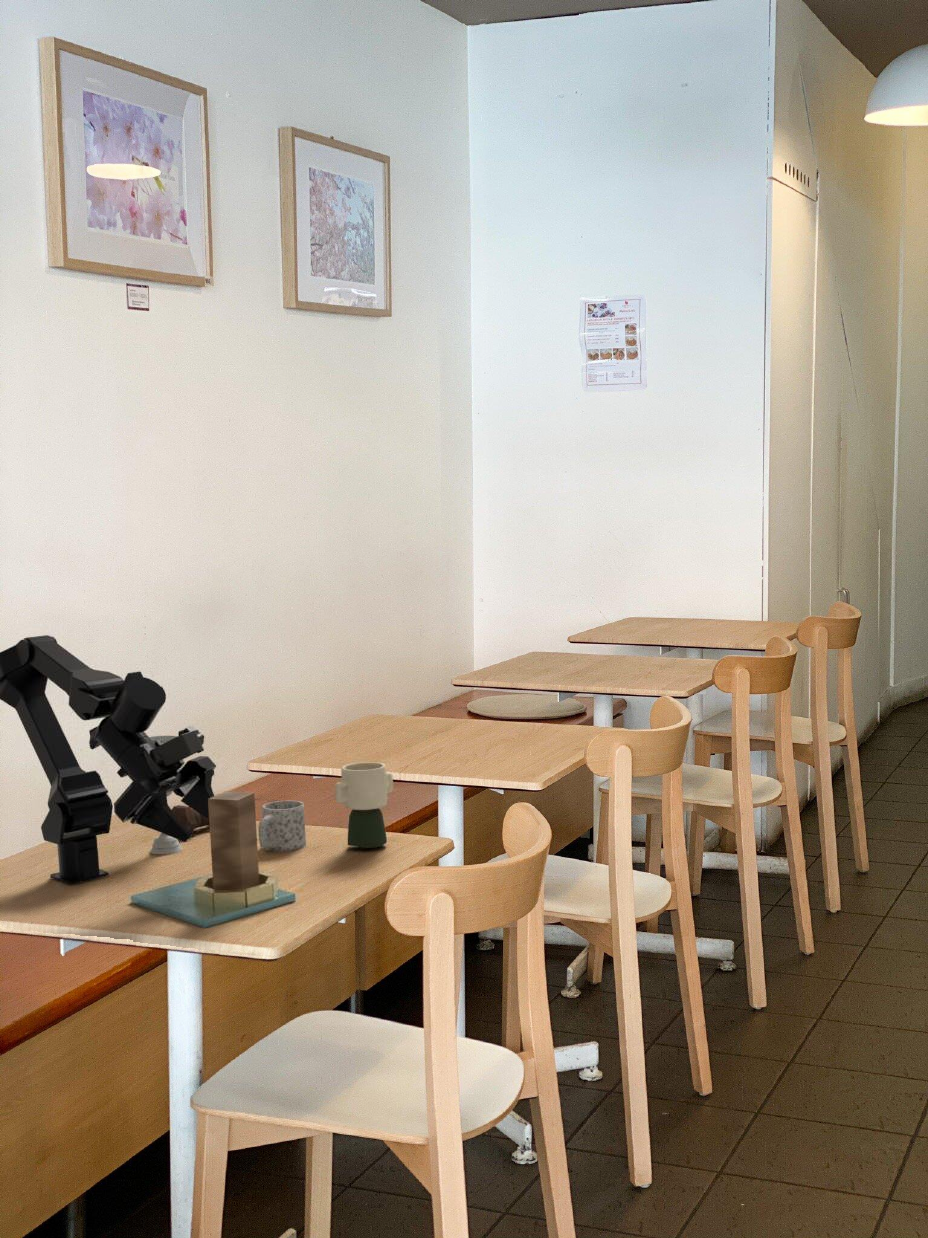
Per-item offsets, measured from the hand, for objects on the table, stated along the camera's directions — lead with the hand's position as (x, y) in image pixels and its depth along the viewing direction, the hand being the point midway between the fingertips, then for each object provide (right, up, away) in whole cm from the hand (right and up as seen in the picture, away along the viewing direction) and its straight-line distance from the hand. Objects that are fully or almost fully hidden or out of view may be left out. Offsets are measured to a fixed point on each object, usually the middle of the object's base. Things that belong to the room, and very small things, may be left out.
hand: (205, 831), depth 193 cm
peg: (+5, -9, -1) cm, 10 cm away
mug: (+7, -7, +28) cm, 29 cm away
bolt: (-7, -6, +44) cm, 45 cm away
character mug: (+21, -7, +26) cm, 34 cm away
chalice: (-12, -8, +29) cm, 33 cm away
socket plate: (+1, -10, 0) cm, 10 cm away
